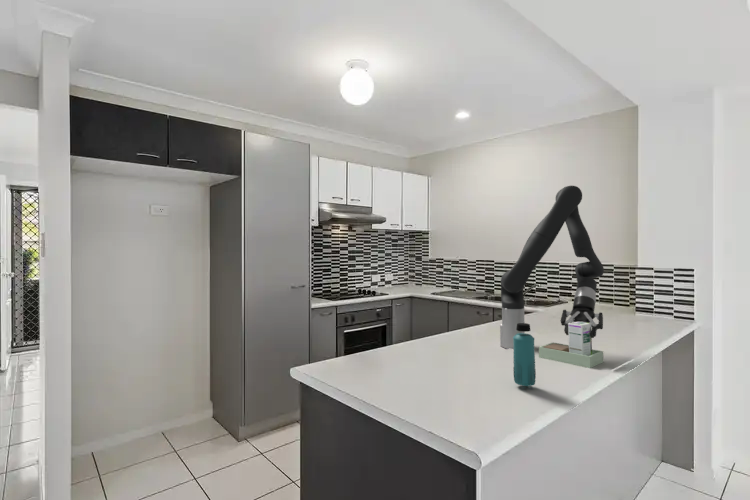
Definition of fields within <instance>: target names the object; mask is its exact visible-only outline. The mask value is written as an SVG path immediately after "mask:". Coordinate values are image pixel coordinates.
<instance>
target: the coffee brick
mask: <svg viewBox="0 0 750 500" xmlns="http://www.w3.org/2000/svg"><path fill="white" fill-rule="evenodd" d="M559 344H560V343H559ZM559 344H551V345H548V346H545V347H544V348H549V349H554V350H559V351H565V352H569V346H565V345H566V344H565V345H559Z"/></svg>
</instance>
